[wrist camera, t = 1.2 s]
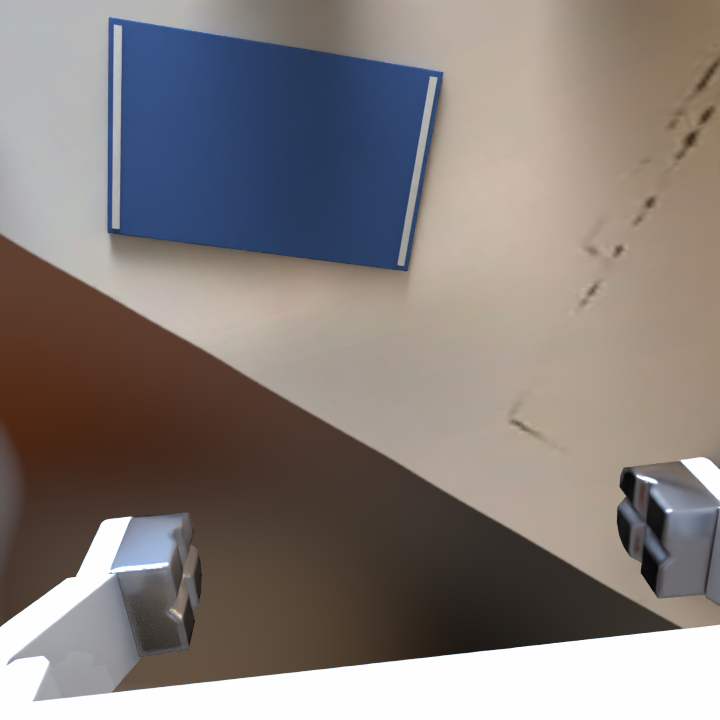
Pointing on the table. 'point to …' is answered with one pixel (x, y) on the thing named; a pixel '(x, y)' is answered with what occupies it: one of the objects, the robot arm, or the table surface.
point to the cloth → (265, 146)
